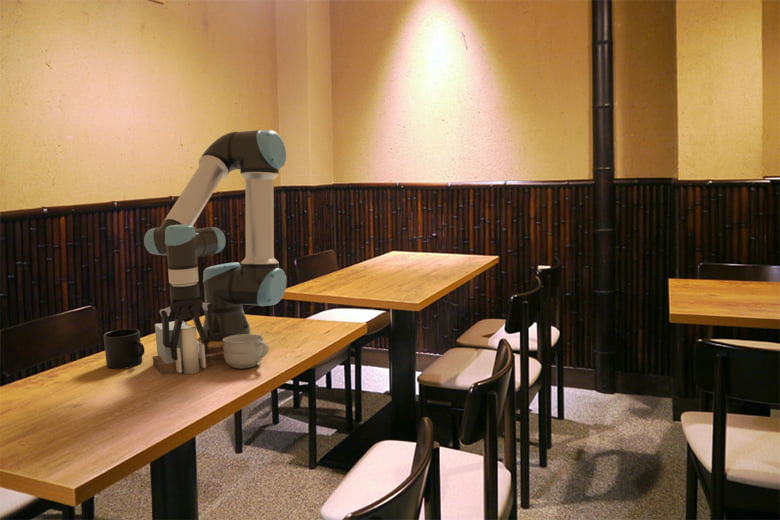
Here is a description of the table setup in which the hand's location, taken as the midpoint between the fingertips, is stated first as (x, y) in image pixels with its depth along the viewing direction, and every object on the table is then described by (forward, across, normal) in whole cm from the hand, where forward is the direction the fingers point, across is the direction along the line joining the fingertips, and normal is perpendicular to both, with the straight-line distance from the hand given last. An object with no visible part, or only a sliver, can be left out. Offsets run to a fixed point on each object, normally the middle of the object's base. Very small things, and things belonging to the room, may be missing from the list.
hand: (191, 368), depth 180 cm
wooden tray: (+1, -2, -8) cm, 8 cm away
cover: (-2, +2, -8) cm, 8 cm away
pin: (+1, 0, 0) cm, 1 cm away
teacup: (+1, -14, +5) cm, 15 cm away
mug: (+1, +13, -18) cm, 22 cm away
